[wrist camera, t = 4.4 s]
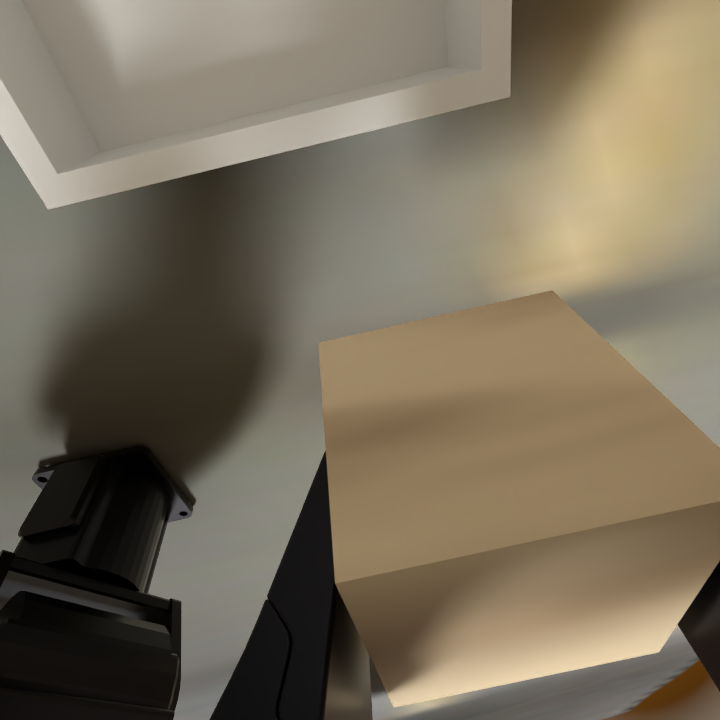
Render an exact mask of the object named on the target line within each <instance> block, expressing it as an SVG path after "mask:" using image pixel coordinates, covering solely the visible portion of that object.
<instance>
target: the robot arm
mask: <svg viewBox="0 0 720 720" xmlns="http://www.w3.org/2000/svg"><path fill="white" fill-rule="evenodd" d="M138 454H139V455H138ZM32 480H33V481H34V482H35V483H36V484H37V485H38V486H39V487H40V488H41V489H42V492H41V493H40V495H39V497H38V499H37V500H36V502H35V504H34V505H33V507H32V509H31V511H30V512H29V514H28V516H27V517H26V519H25V521H24V523H23V524H22V526H21V528H20V530H19V533H18V536H19V537H20V538H22V539H21V540H20V542H19V544H18V546H17V547H16V549H15V551H14V553H12V552H9V551H5V550H2V551H1V552H0V720H173V718H174V711H175V708H176V704H177V701H178V696H179V690H180V681H181V601H179V600H175V599H172V598H171V599H169V600H168V599H164V598H161V597H157V596H154V595H150V594H148V591H149V587H150V584H151V580H152V577H153V573H154V569H155V566H156V562H157V558H158V555H159V551H160V548H161V544H162V540H163V537H164V533H165V529H166V526H167V523H168V522H172V521H176V520H181V519H185V518H189V517H190V516H191V515H192V511H193V507H192V505H191V504H190V503H189V501H188V500H187V499H186V497H185V496H184V495H183V493H182V492H181V491H180V489H179V488H178V487H177V485H176V484H175V483H174V482H173V480H172V479H171V478H170V476H169V475H168V474H167V472H166V471H165V470H164V468H163V467H162V466H161V464H160V463H159V462H158V460H157V459H156V458H155V456H154V455H153V454H152V453H151V451H150V450H149V449H148V448H146V447H144V446H135V447H130V448H126V449H122V450H117V451H113V452H109V453H104V454H100V455H96V456H91V457H87V458H83V459H78V460H74V461H70V462H65V463H61V464H57V465H52V466H48V467H44V468H40V469H37V471H36V472H35V473H34V475H33V477H32ZM267 597H268V599H269V600H268V599H267V600H265V602H264V605H263V607H262V610H261V612H260V615H259V617H258V620H257V622H256V624H255V627H254V629H253V631H252V634H251V636H250V638H249V641H248V643H247V645H246V648H245V650H244V652H243V654H242V656H241V658H240V660H239V662H238V664H237V666H236V668H235V670H234V672H233V674H232V677H231V679H230V681H229V683H228V685H227V687H226V689H225V690H224V692H223V694H222V696H221V698H220V700H219V702H218V704H217V706H216V708H215V710H214V712H213V714H212V716H211V718H210V720H372V702H371V681H370V660H369V654H368V652H367V650H366V648H365V646H364V643H363V641H362V639H361V637H360V635H359V633H358V631H357V629H356V627H355V624H354V622H353V620H352V618H351V616H350V614H349V612H348V610H347V608H346V605H345V603H344V601H343V599H342V597H341V595H340V593H339V591H338V589H337V587H336V584H335V575H334V560H333V546H332V531H331V517H330V503H329V488H328V474H327V459H326V451H325V453H324V455H323V457H322V460H321V462H320V465H319V467H318V470H317V472H316V475H315V477H314V480H313V482H312V485H311V488H310V490H309V493H308V495H307V498H306V500H305V503H304V505H303V508H302V510H301V513H300V515H299V518H298V520H297V523H296V525H295V528H294V530H293V533H292V535H291V538H290V540H289V543H288V545H287V548H286V550H285V553H284V555H283V558H282V560H281V563H280V565H279V568H278V570H277V573H276V575H275V578H274V580H273V583H272V585H271V588H270V590H269V593H268V595H267ZM678 626H679V628H680V629H681V631H682V632H683V634H684V636H685V637H686V639H687V640H688V642H689V644H690V645H691V647H692V648H693V650H694V651H695V653H696V655H697V656H698V658H699V659H700V661H701V663H702V664H703V666H704V667H705V668H706V670H707V672H708V674H709V675H710V677H711V679H712V680H713V682H714V683H715V685H716V686H717V688H718V690H719V691H720V561H719V563H718V564H717V566H716V567H715V569H714V570H713V572H712V573H711V575H710V576H709V578H708V579H707V581H706V582H705V584H704V585H703V587H702V588H701V590H700V591H699V593H698V594H697V596H696V597H695V599H694V600H693V602H692V603H691V605H690V606H689V608H688V609H687V611H686V612H685V614H684V615H683V617H682V618H681V620H680V621H679V623H678Z"/></svg>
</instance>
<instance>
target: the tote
mask: <svg viewBox="0 0 720 720" xmlns="http://www.w3.org/2000/svg"><path fill="white" fill-rule="evenodd" d="M511 25H512V0H0V135H1V137H2V138H3V140H4V141H5V143H6V144H7V146H8V148H9V149H10V151H11V152H12V154H13V155H14V157H15V158H16V160H17V162H18V163H19V165H20V166H21V168H22V169H23V171H24V173H25V174H26V176H27V177H28V179H29V180H30V182H31V183H32V185H33V187H34V188H35V190H36V191H37V193H38V194H39V196H40V197H41V199H42V201H43V202H44V204H45V205H46V207H47V208H48V209H53V208H57V207H61V206H65V205H69V204H73V203H77V202H81V201H85V200H90V199H94V198H98V197H102V196H106V195H110V194H114V193H118V192H122V191H126V190H131V189H135V188H139V187H143V186H147V185H151V184H155V183H159V182H163V181H167V180H172V179H176V178H180V177H184V176H188V175H192V174H196V173H200V172H204V171H208V170H213V169H217V168H221V167H225V166H229V165H233V164H237V163H241V162H245V161H250V160H254V159H258V158H262V157H266V156H270V155H274V154H278V153H282V152H286V151H291V150H295V149H299V148H303V147H307V146H311V145H315V144H319V143H323V142H327V141H332V140H336V139H340V138H344V137H348V136H352V135H356V134H360V133H364V132H368V131H373V130H377V129H381V128H385V127H389V126H393V125H397V124H401V123H405V122H409V121H414V120H418V119H422V118H426V117H430V116H434V115H438V114H442V113H446V112H451V111H455V110H459V109H463V108H467V107H471V106H475V105H479V104H483V103H487V102H492V101H496V100H500V99H504V98H508V97H510V82H511Z"/></svg>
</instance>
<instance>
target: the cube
mask: <svg viewBox="0 0 720 720" xmlns="http://www.w3.org/2000/svg"><path fill="white" fill-rule="evenodd" d="M319 358H320V372H321V387H322V401H323V416H324V430H325V445H326V459H327V474H328V488H329V503H330V517H331V531H332V546H333V560H334V575H335V584H336V587H337V589H338V591H339V593H340V595H341V597H342V599H343V601H344V603H345V605H346V608H347V610H348V612H349V614H350V616H351V618H352V620H353V622H354V624H355V627H356V629H357V631H358V633H359V635H360V637H361V639H362V641H363V643H364V646H365V648H366V650H367V652H368V654H369V656H370V658H371V660H372V662H373V664H374V667H375V669H376V671H377V673H378V675H379V677H380V679H381V681H382V683H383V686H384V688H385V690H386V692H387V694H388V696H389V698H390V700H391V702H392V705H393V707H399V706H403V705H408V704H413V703H418V702H423V701H427V700H432V699H437V698H442V697H447V696H451V695H456V694H461V693H466V692H471V691H475V690H480V689H485V688H490V687H495V686H499V685H504V684H509V683H514V682H518V681H523V680H528V679H533V678H538V677H542V676H547V675H552V674H557V673H562V672H566V671H571V670H576V669H581V668H586V667H590V666H595V665H600V664H605V663H610V662H614V661H619V660H624V659H629V658H634V657H638V656H643V655H648V654H653V653H658V652H659V651H660V650H661V648H662V647H663V645H664V644H665V642H666V641H667V639H668V638H669V636H670V635H671V633H672V632H673V630H674V629H675V627H676V626H677V624H678V623H679V621H680V620H681V618H682V617H683V615H684V614H685V612H686V611H687V609H688V608H689V606H690V605H691V603H692V602H693V600H694V599H695V597H696V596H697V594H698V593H699V591H700V590H701V588H702V587H703V585H704V584H705V582H706V581H707V579H708V578H709V576H710V575H711V573H712V572H713V570H714V569H715V567H716V566H717V564H718V563H719V561H720V448H719V447H718V446H717V445H716V444H715V443H714V442H713V441H712V440H711V439H710V438H708V437H707V436H706V435H705V434H704V433H703V432H702V431H701V430H700V429H699V428H698V427H697V426H696V425H695V424H694V423H693V422H691V421H690V420H689V419H688V418H687V417H686V416H685V415H684V414H683V413H682V412H681V411H680V410H679V409H678V408H677V407H676V406H674V405H673V404H672V403H671V402H670V401H669V400H668V399H667V398H666V397H665V396H664V395H663V394H662V393H661V392H660V391H659V390H657V389H656V388H655V387H654V386H653V385H652V384H651V383H650V382H649V381H648V380H647V379H646V378H645V377H644V376H643V375H642V374H640V373H639V372H638V371H637V370H636V369H635V368H634V367H633V366H632V365H631V364H630V363H629V362H628V361H627V360H626V359H625V358H623V357H622V356H621V355H620V354H619V353H618V352H617V351H616V350H615V349H614V348H613V347H612V346H611V345H610V344H609V343H608V342H606V341H605V340H604V339H603V338H602V337H601V336H600V335H599V334H598V333H597V332H596V331H595V330H594V329H593V328H592V327H591V326H589V325H588V324H587V323H586V322H585V321H584V320H583V319H582V318H581V317H580V316H579V315H578V314H577V313H576V312H575V311H574V310H572V309H571V308H570V307H569V306H568V305H567V304H566V303H565V302H564V301H563V300H562V299H561V298H560V297H559V296H558V295H557V294H555V293H554V292H553V291H548V292H543V293H539V294H534V295H530V296H525V297H521V298H516V299H512V300H507V301H503V302H499V303H494V304H490V305H485V306H481V307H476V308H472V309H467V310H463V311H458V312H454V313H449V314H445V315H440V316H436V317H432V318H427V319H423V320H418V321H414V322H409V323H405V324H400V325H396V326H391V327H387V328H382V329H378V330H373V331H369V332H364V333H360V334H356V335H351V336H347V337H342V338H338V339H333V340H329V341H324V342H320V343H319Z"/></svg>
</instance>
